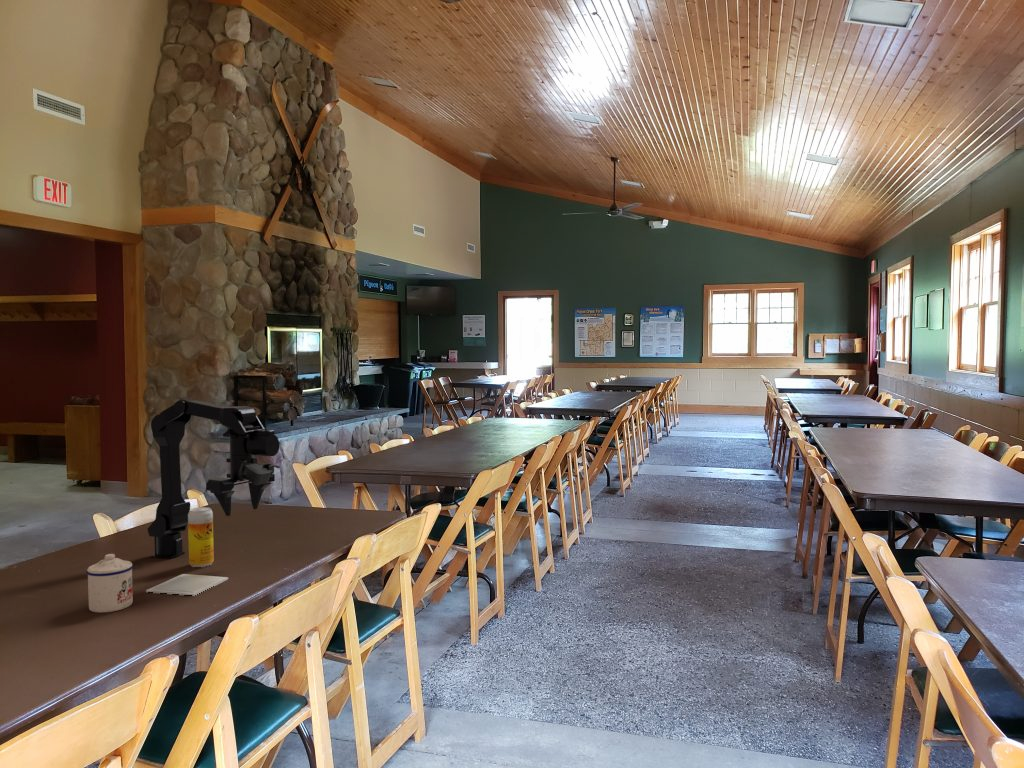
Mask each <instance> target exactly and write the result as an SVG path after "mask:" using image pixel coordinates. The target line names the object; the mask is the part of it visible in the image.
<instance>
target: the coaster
mask: <svg viewBox="0 0 1024 768" xmlns="http://www.w3.org/2000/svg"><path fill="white" fill-rule="evenodd" d="M228 580H229V577H227V576H217V575H216V576H214V575H201V574H190V573H182V574H179V575H178V576H175V577H173V578H171V579H168V580H166V581H164V582H162V583H160V584H157V585H155V586H152V587H149V588H148V589H145V593H148V592H153V593H152V594H160V593H167V594H166V595H172V594H179V595H178V596H184V595H192V596H191V597H196V596H198V595H200V594H201V592H202V593H203V591H204V592H206V591H208V590H210V589H212V588H214V587H216V586H218V585H220V584H221V583H224V582H225V581H228ZM213 586H214V587H213ZM211 587H212V588H211ZM209 588H210V589H209ZM207 589H208V590H207ZM205 590H206V591H205ZM199 593H200V594H199ZM197 594H198V595H197ZM195 595H196V596H195Z"/></svg>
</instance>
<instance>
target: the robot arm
mask: <svg viewBox="0 0 1024 768" xmlns="http://www.w3.org/2000/svg"><path fill="white" fill-rule="evenodd" d="M193 417H199V418H203V419H208V420H212V421H216V422H218V423H219V424H221V425H222V426H223V427H226V428H228V429H227V430H226V431H225V432H224V433H223V434H222V436H223V437H224V438H229V457H226V463H229V473H226V477H215V478H209V479H208V480H207V481H206V483H205V485H206V486H205V491H209V492H210V494H213V495H214V496H215V498H216V499H217V501H218V503H219V505H220V506H221V508H222V511H223V512H224V515H225V517H231V513H232V496H233V494H234V493H235V492H236V491H235V490H233V489H234V488H235V486H237V485H243V484H247V483H248V489H249V495H250V500H251V506H252V509H253V510H258V508H259V504H260V502H261V498H262V495H263V493H264V491H265V489H266V488H268V487H269V486H270V485H272V482H275V481H276V479H275V478H276V477H275V476H276V475H275V466H274V464H272V463H271V462H269V463H265V464H258V459H257V457H254V456H262V457H263V456H265V457H274V456H276V455H277V454H278V452H279V450H280V446H281V443H280V441H279V437H278V436H277V435H276V434H275V430H274V429H268V430H266V429H265V427H264V425H263V424H262V422H261V421H260V419H259V417H258V415H257V414H256V411H255V409H254V407H252V406H246V405H242V406H227V405H226V406H225V405H220V404H216V403H211V402H207V401H202V400H196V399H195V398H181V399H179V400H177V401H176V402H175V403H174V404H173V405H171V406H170V407H168V408H166V409H164V410H162V411H160V413H159V414H156V415H155V416H154V417H153V418H152V419H151V420H150V428H151V434H152V438H153V439H154V441H155V442H156V443H157V445H158V447H159V462H160V463H159V464H160V465H159V466H160V487H161V499H160V501H159V503H158V505H157V507H156V510H155V519H154V521H152V522H151V524H150V525H149V526H148V527H147V533H148V536H149V537H153V539H154V541H153V543H154V554H151V555H150V558H153V559H154V558H158V559H169V560H170V559H173V558H176V557H178V556H180V555H183V554H185V553H186V550H183V549H184V548H183V538H182V532H185V531H186V530H187V528H188V513H189V510H190V509H191V502H190V501H186V500H185V499H184V497H183V496H182V480H181V479H182V477H181V476H182V475H181V458H180V457H181V456H180V444H181V443H182V441H183V438H184V436H185V430H186V425H187V424H188V423H190V422H191V420H192V419H193Z"/></svg>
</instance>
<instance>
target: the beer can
mask: <svg viewBox="0 0 1024 768" xmlns="http://www.w3.org/2000/svg"><path fill="white" fill-rule="evenodd" d="M187 531H188V532H187V535H188V564H189V565H190V566H191V568H194V567H201V568H206V566H207V567H209V565H210V566H211V565H212V564H213V562H214V560H215V556H214V555H215V552H214V551H215V550H214V549H215V548H214V547H215V545H214V513H213V510H212V508H211V507H208V506H207V507H206V506H201V507H199V506H198V507H194V508H190V510H189V513H188V523H187Z"/></svg>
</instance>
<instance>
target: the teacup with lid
mask: <svg viewBox="0 0 1024 768" xmlns="http://www.w3.org/2000/svg"><path fill="white" fill-rule="evenodd" d="M104 555H105V556H104V558H103V559H101V560H99V561H98V562H97V563H94V564H92V565H89V567H88V568H87V570H86V575H87V586H88V587H87V590H88V591H87V594H88V609H89V611H90V612H93V613H100V614H101V613H110V612H111V613H112V612H117V611H120V610H121V611H122V610H124V609H126V608H129V607H130V606H131V605H132V604H133V601H134V600H133V599H134V597H133V596H134V595H133V568H134V564H133V563H132V562H131V561H129V560H125V559H121V558H119V557H116V555H115V553H108V554H104Z"/></svg>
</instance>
